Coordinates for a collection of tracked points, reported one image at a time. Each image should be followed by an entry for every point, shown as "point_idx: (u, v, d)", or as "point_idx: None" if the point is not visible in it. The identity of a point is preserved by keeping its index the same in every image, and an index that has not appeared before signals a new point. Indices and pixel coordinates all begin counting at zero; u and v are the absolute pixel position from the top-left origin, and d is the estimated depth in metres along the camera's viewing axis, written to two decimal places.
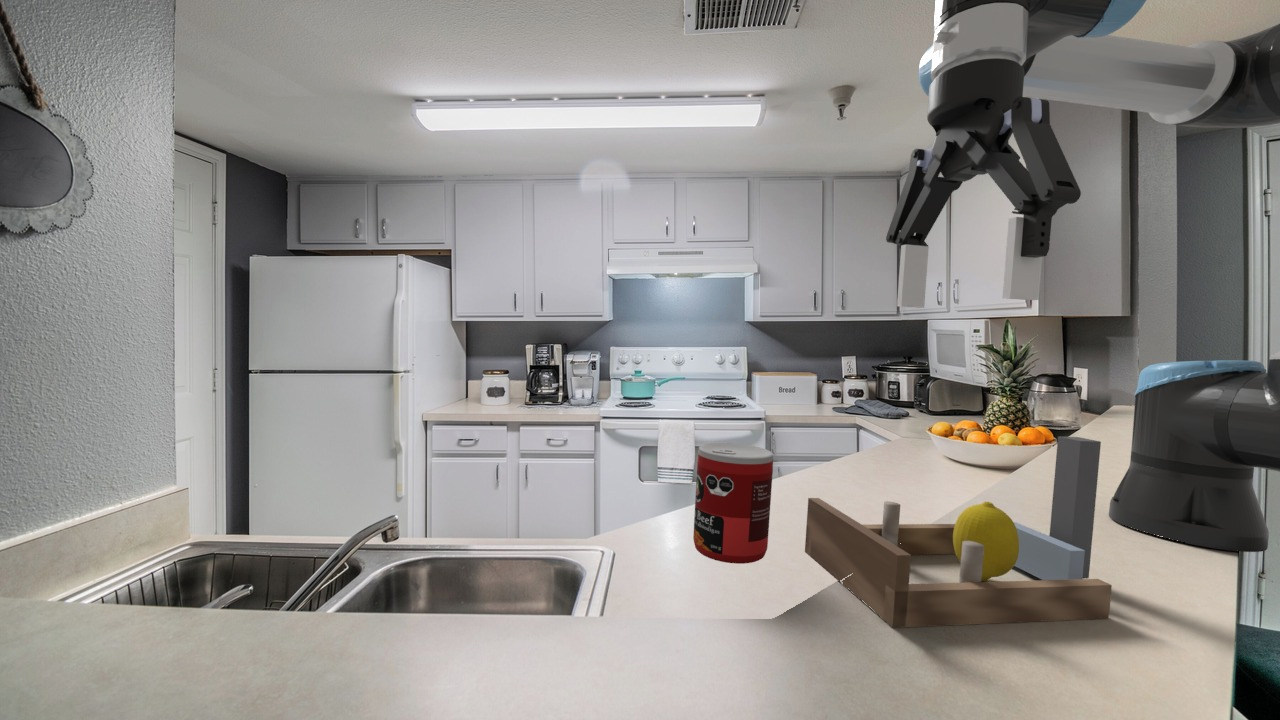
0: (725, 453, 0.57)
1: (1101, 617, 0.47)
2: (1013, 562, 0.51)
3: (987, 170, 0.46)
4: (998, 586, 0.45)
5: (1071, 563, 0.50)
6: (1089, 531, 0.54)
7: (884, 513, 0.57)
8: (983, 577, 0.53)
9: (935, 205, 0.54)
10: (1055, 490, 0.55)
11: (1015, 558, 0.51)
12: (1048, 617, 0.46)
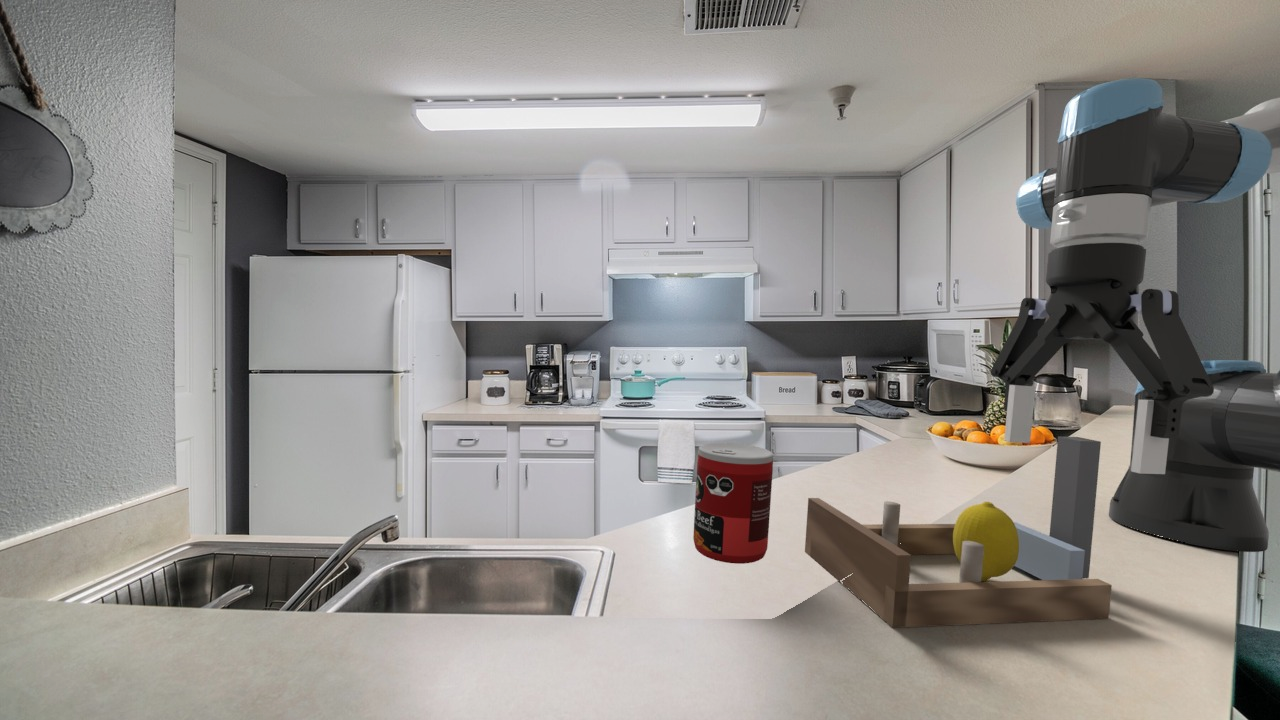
0: (725, 453, 0.57)
1: (1101, 617, 0.47)
2: (1013, 562, 0.51)
3: (1113, 345, 0.50)
4: (998, 586, 0.45)
5: (1071, 563, 0.50)
6: (1089, 531, 0.54)
7: (884, 513, 0.57)
8: (983, 577, 0.53)
9: (1047, 354, 0.58)
10: (1055, 490, 0.55)
11: (1015, 558, 0.51)
12: (1048, 617, 0.46)
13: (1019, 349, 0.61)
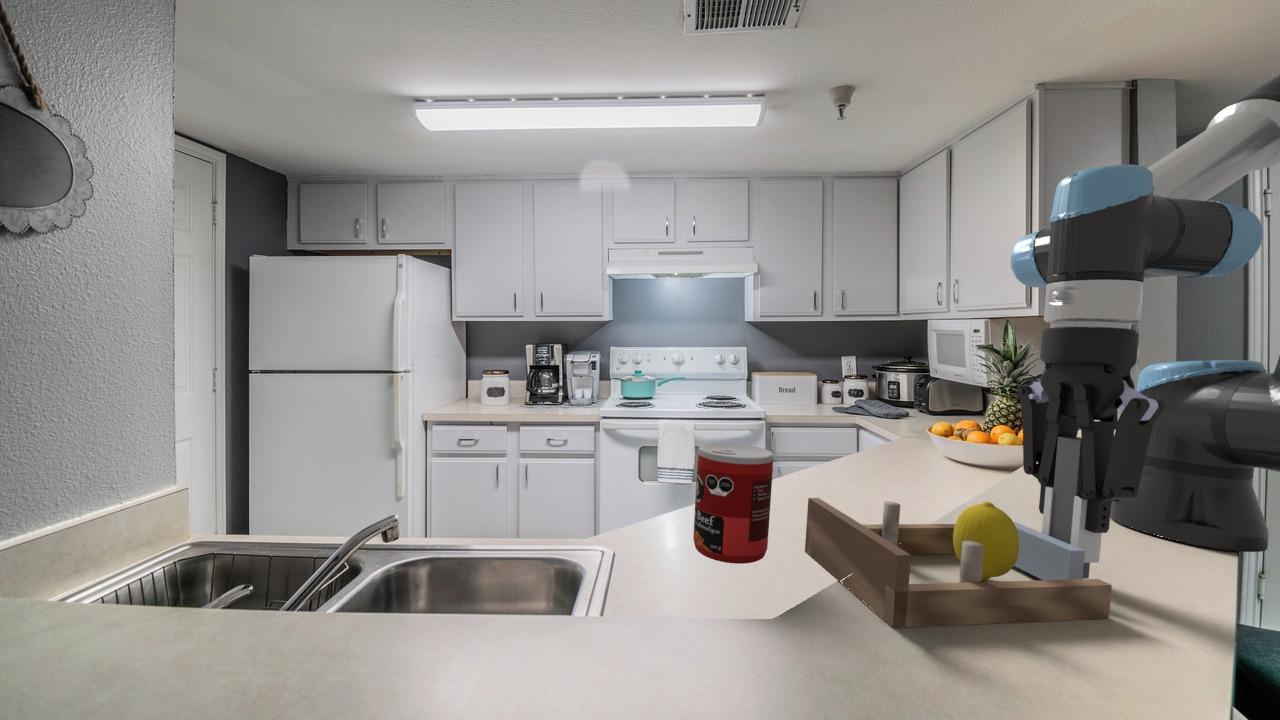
0: (725, 453, 0.57)
1: (1101, 617, 0.47)
2: (1013, 562, 0.51)
3: (1082, 433, 0.53)
4: (998, 586, 0.45)
5: (1071, 563, 0.50)
6: None
7: (884, 513, 0.57)
8: (983, 577, 0.53)
9: None
10: (1055, 490, 0.55)
11: (1015, 558, 0.51)
12: (1048, 617, 0.46)
13: (1040, 438, 0.58)
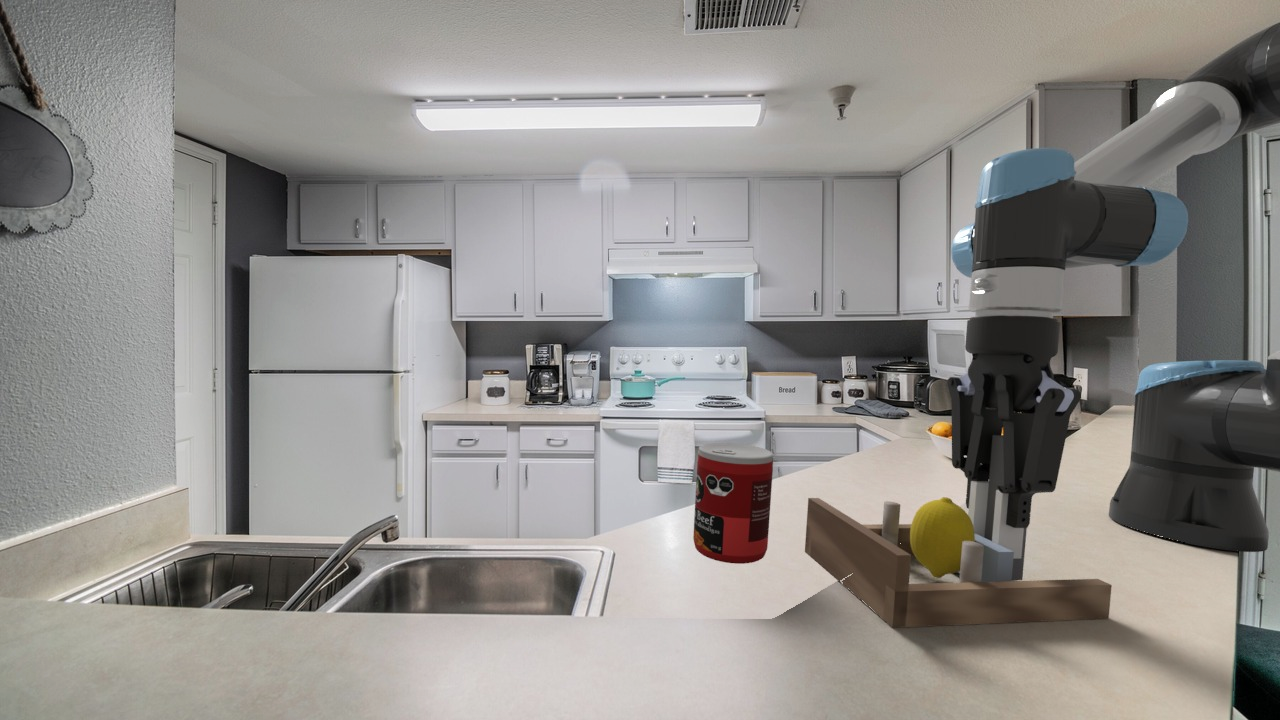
0: (725, 453, 0.57)
1: (1101, 617, 0.47)
2: None
3: (1004, 425, 0.51)
4: (998, 586, 0.45)
5: (999, 564, 0.49)
6: None
7: (884, 513, 0.57)
8: (937, 573, 0.52)
9: (993, 433, 0.54)
10: (990, 490, 0.54)
11: None
12: (1048, 617, 0.46)
13: (968, 431, 0.57)
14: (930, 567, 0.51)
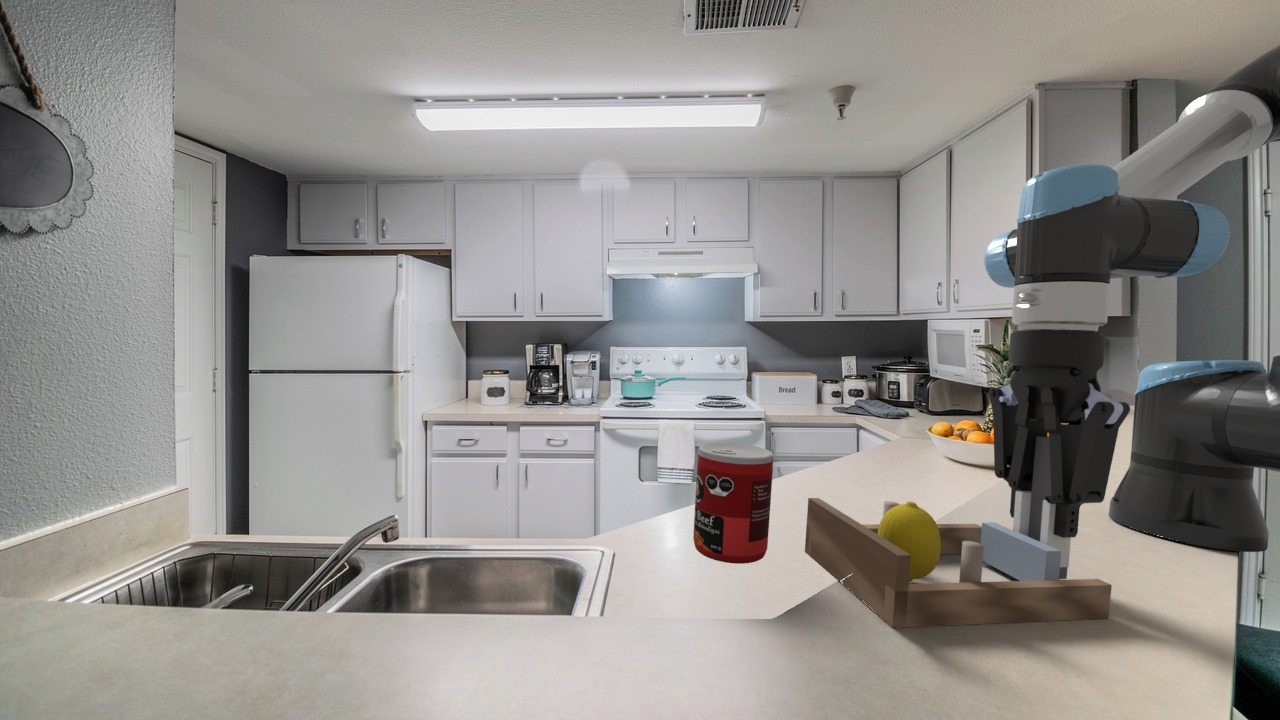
0: (725, 453, 0.57)
1: (1101, 617, 0.47)
2: (933, 564, 0.50)
3: (1050, 436, 0.52)
4: (998, 586, 0.45)
5: (1047, 563, 0.50)
6: None
7: (884, 513, 0.57)
8: None
9: None
10: (1033, 490, 0.55)
11: (936, 560, 0.50)
12: (1048, 617, 0.46)
13: (1011, 441, 0.58)
14: None
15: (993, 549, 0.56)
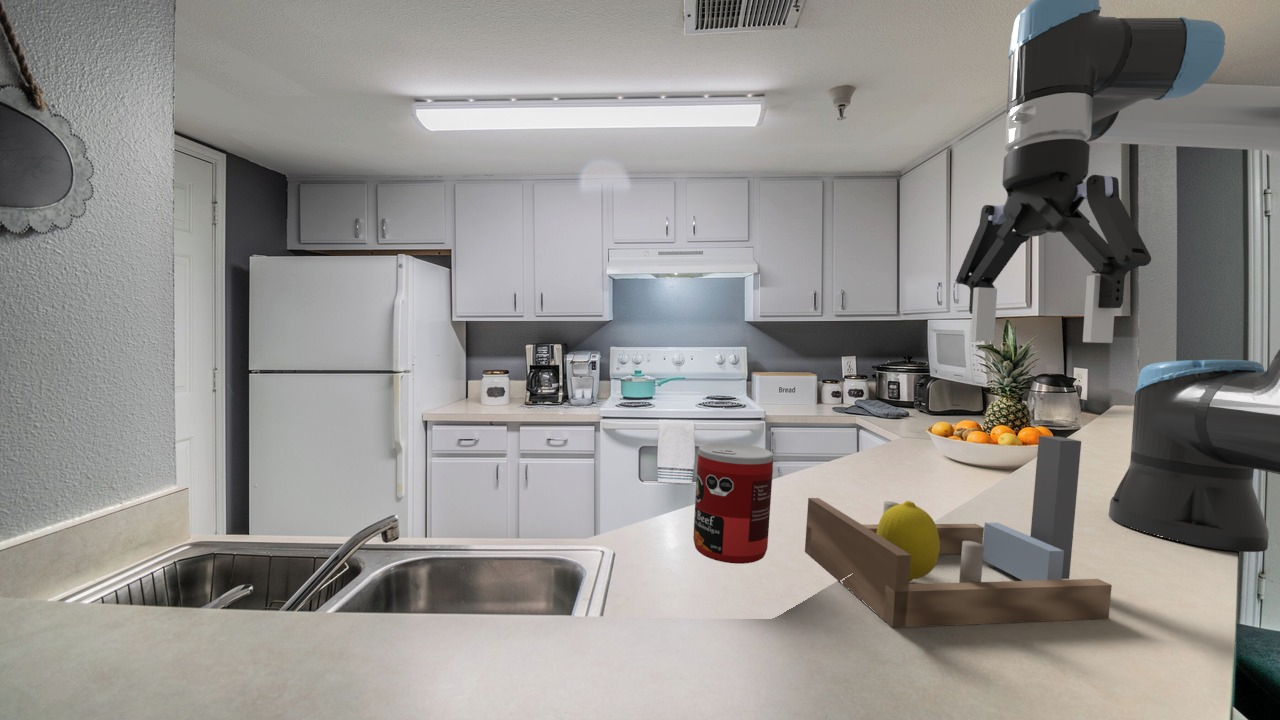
0: (725, 453, 0.57)
1: (1101, 617, 0.47)
2: (932, 563, 0.50)
3: (1063, 232, 0.55)
4: (998, 586, 0.45)
5: (1050, 563, 0.50)
6: (1070, 531, 0.53)
7: None
8: None
9: (1006, 254, 0.63)
10: (1036, 490, 0.55)
11: (934, 559, 0.50)
12: (1048, 617, 0.46)
13: (981, 255, 0.66)
14: None
15: (996, 549, 0.56)
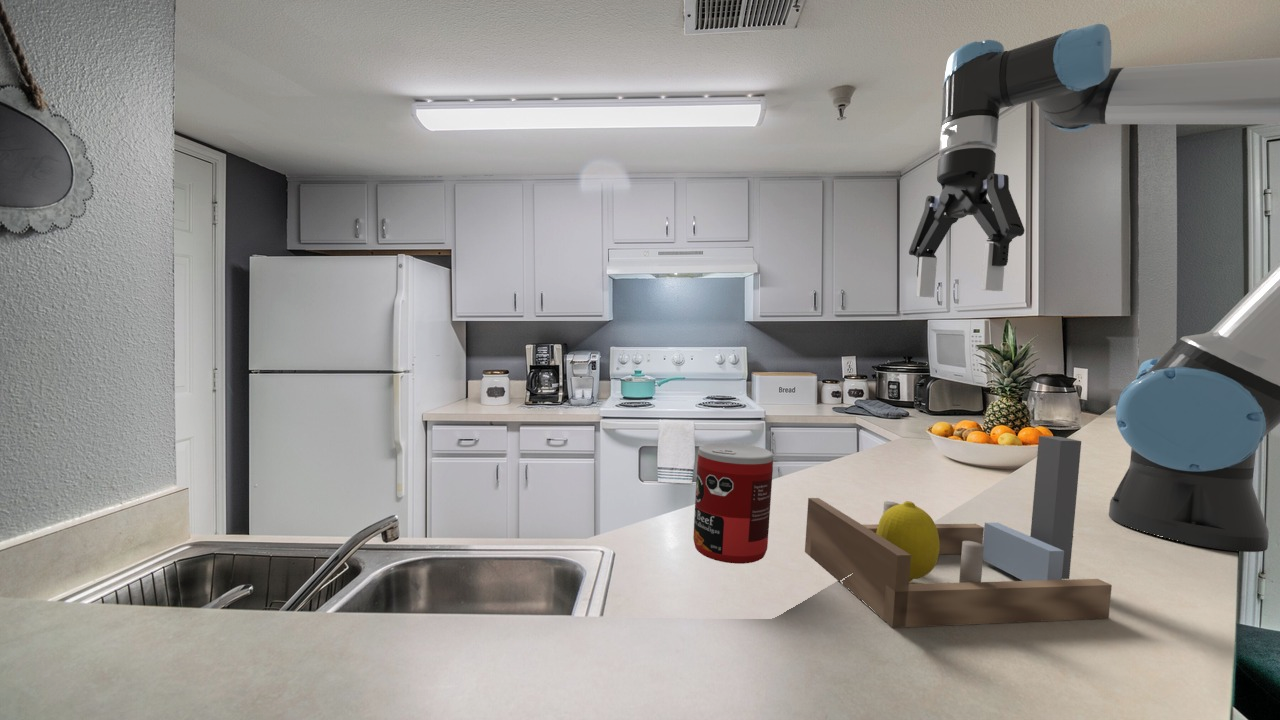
0: (725, 453, 0.57)
1: (1101, 617, 0.47)
2: (932, 563, 0.49)
3: (973, 214, 0.78)
4: (998, 586, 0.45)
5: (1050, 563, 0.50)
6: (1070, 531, 0.53)
7: None
8: None
9: (941, 232, 0.86)
10: (1036, 490, 0.55)
11: (934, 559, 0.50)
12: (1048, 617, 0.46)
13: (926, 233, 0.89)
14: None
15: (996, 549, 0.56)
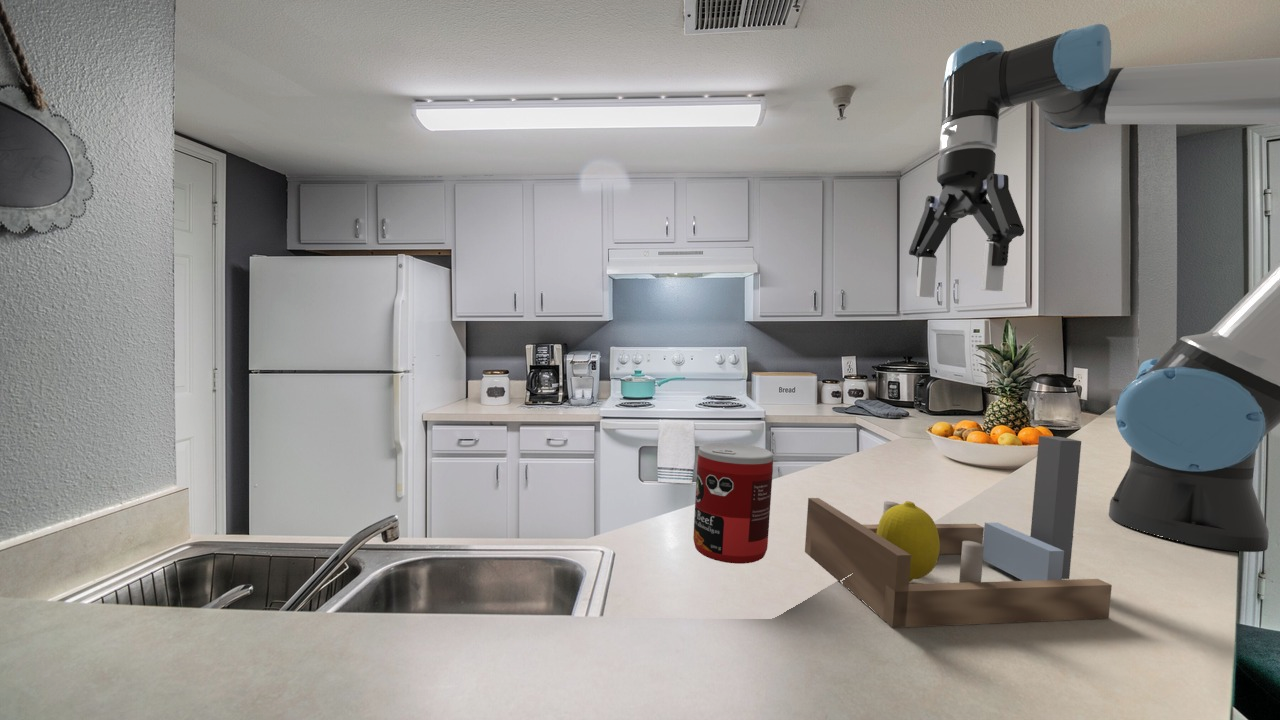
0: (725, 453, 0.57)
1: (1101, 617, 0.47)
2: (932, 563, 0.49)
3: (973, 214, 0.78)
4: (998, 586, 0.45)
5: (1050, 563, 0.50)
6: (1070, 531, 0.53)
7: None
8: None
9: (941, 232, 0.86)
10: (1036, 490, 0.55)
11: (934, 559, 0.49)
12: (1048, 617, 0.46)
13: (926, 233, 0.89)
14: None
15: (996, 549, 0.56)
